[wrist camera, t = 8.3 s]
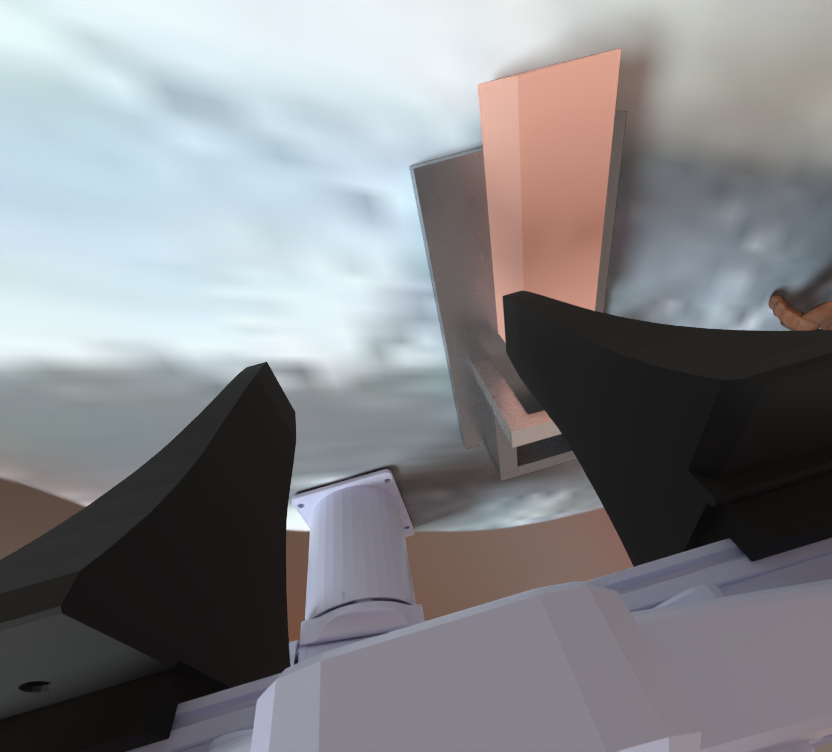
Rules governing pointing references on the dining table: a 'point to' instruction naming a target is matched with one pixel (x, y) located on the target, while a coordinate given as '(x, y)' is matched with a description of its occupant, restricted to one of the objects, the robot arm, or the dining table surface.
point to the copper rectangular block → (549, 176)
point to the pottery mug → (802, 315)
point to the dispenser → (489, 311)
